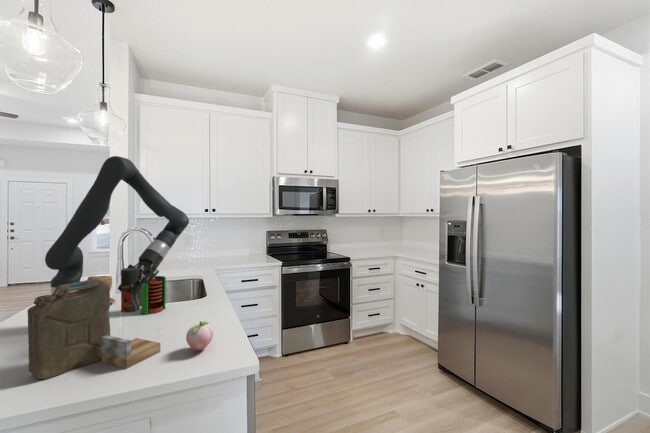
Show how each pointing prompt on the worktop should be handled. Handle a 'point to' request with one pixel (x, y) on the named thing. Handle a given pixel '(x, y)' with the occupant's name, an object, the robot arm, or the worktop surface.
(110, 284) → the stone cup
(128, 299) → the deodorant
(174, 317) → the worktop surface
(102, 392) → the worktop surface
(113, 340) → the step
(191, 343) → the decorative fruit
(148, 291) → the motor
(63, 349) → the canister
